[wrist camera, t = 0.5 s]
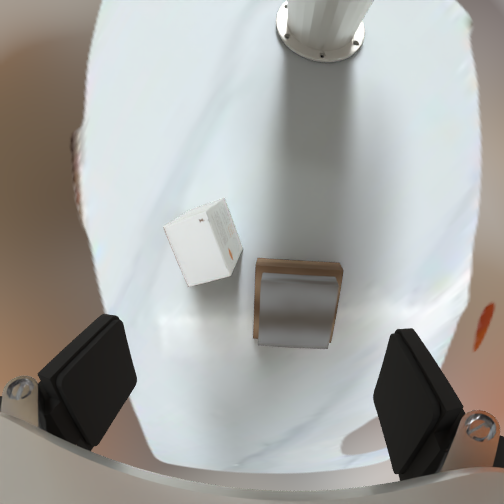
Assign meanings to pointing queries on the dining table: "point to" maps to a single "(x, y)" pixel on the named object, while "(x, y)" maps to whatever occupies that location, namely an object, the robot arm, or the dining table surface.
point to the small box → (205, 242)
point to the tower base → (296, 302)
